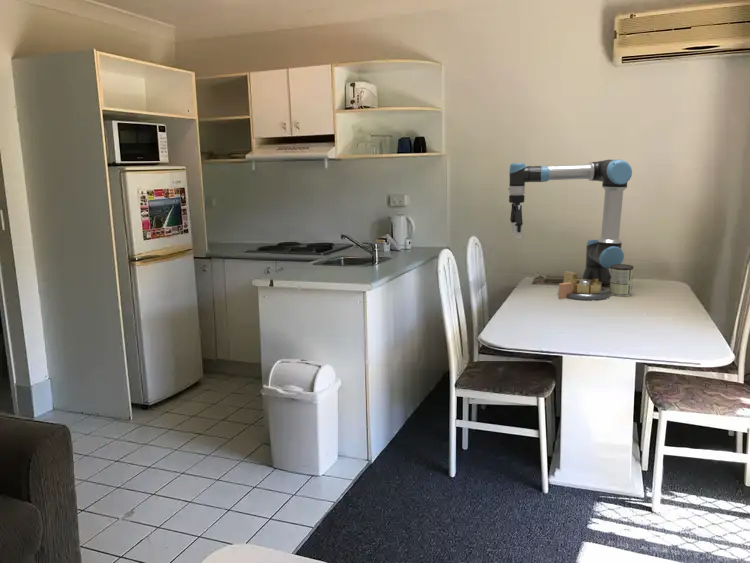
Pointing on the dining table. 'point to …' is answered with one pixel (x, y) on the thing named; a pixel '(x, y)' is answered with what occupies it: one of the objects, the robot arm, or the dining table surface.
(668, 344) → the dining table surface
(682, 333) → the dining table surface
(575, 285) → the gold octagonal ring
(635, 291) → the dining table surface
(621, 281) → the coffee can
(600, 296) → the plate
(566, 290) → the block
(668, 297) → the dining table surface
